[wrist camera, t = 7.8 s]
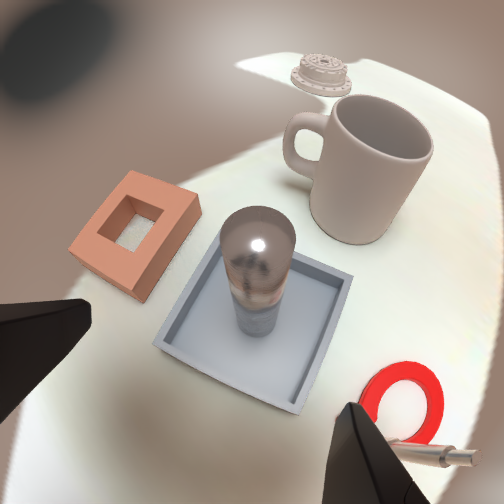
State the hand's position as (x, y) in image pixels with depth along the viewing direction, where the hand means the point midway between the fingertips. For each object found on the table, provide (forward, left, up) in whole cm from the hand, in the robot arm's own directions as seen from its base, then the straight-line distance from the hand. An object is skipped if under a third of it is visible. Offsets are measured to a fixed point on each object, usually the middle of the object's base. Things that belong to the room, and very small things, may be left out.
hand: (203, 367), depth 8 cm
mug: (+20, -2, -14) cm, 24 cm away
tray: (+6, 0, -13) cm, 15 cm away
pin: (+6, 0, -13) cm, 14 cm away
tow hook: (+3, -14, -14) cm, 20 cm away
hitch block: (+8, +13, -13) cm, 20 cm away
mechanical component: (+44, +7, -14) cm, 47 cm away
